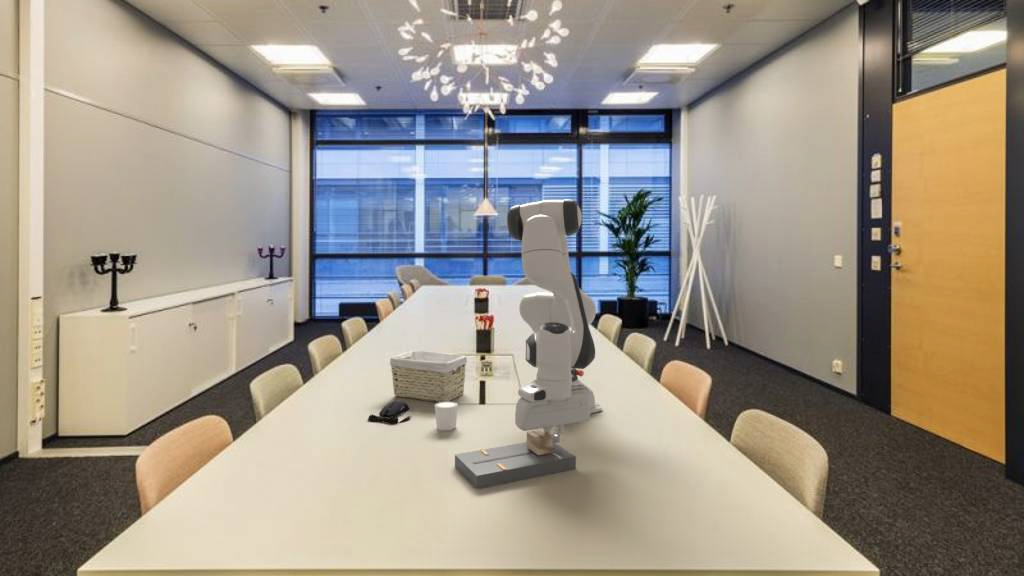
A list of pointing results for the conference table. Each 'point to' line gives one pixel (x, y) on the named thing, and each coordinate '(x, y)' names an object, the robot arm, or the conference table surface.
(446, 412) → the white cup
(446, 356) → the storage basket
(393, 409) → the computer mouse
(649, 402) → the conference table surface
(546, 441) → the fader tab
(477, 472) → the fader console
